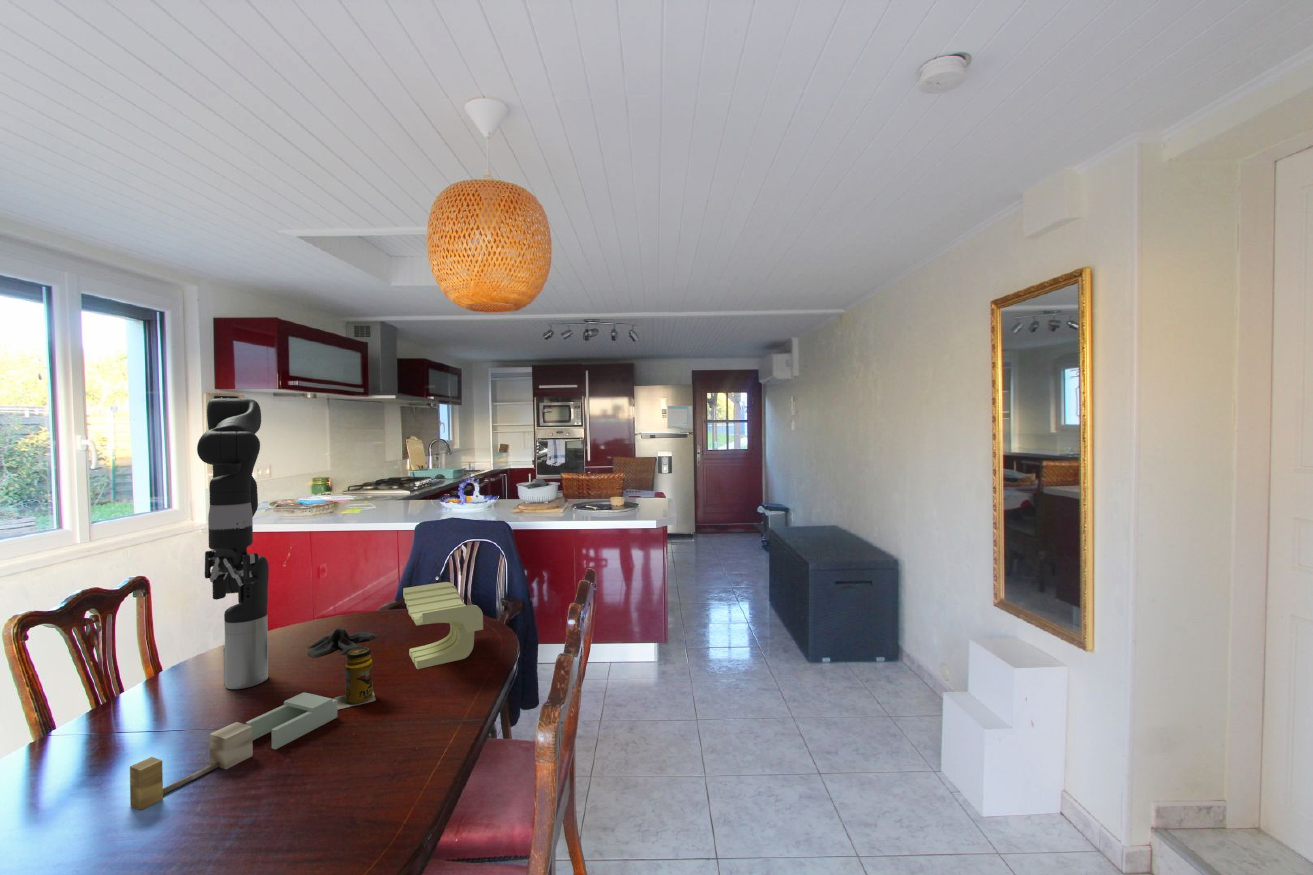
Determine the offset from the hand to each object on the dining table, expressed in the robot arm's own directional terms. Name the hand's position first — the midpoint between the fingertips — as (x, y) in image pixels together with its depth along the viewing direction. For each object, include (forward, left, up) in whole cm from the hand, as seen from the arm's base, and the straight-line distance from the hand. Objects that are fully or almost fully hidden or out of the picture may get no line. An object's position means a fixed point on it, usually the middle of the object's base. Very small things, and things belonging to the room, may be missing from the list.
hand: (232, 600), depth 119 cm
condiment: (+8, +23, -30) cm, 39 cm away
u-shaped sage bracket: (+7, +8, -30) cm, 32 cm away
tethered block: (+7, -11, -30) cm, 33 cm away
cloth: (-29, +47, -31) cm, 63 cm away
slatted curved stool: (+8, +53, -30) cm, 61 cm away
